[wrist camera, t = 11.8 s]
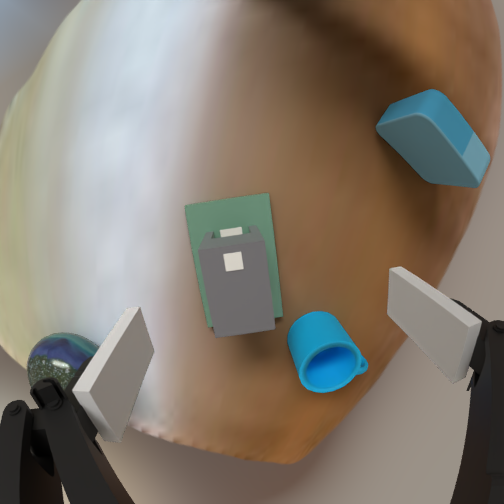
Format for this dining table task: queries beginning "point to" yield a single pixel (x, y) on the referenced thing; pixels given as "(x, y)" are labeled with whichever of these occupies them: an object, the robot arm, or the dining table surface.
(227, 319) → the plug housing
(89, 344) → the vase
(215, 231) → the header board
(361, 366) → the mug
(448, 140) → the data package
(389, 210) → the dining table surface
